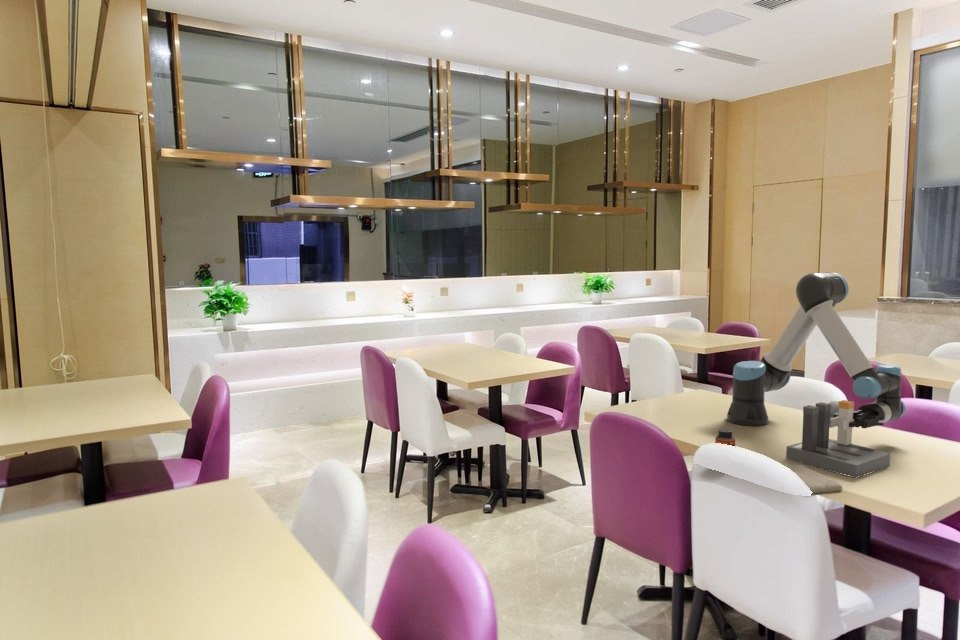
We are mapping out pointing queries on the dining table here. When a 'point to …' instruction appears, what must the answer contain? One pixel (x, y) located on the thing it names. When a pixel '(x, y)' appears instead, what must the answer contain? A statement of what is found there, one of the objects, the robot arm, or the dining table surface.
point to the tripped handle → (844, 414)
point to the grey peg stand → (832, 447)
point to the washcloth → (815, 480)
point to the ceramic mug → (834, 408)
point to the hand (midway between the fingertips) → (836, 424)
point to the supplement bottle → (725, 437)
